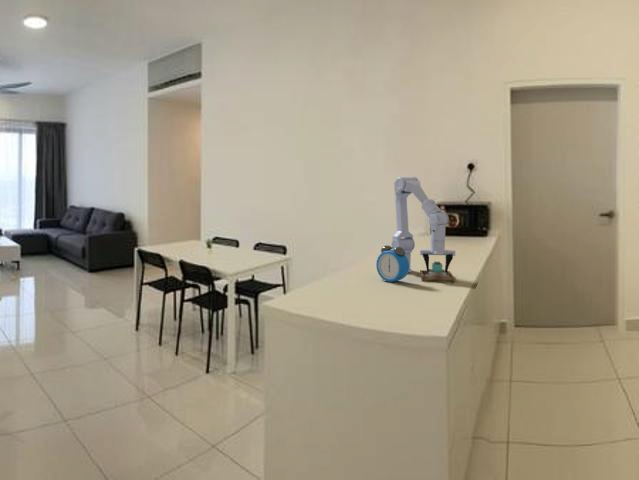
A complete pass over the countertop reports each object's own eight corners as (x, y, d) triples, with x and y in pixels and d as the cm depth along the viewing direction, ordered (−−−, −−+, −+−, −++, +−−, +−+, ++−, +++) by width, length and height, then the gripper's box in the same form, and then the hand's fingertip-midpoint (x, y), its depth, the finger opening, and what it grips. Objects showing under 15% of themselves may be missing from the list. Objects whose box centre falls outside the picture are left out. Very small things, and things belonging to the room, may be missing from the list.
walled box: (422, 281, 192) (422, 272, 191) (419, 275, 204) (420, 266, 204) (453, 282, 190) (454, 273, 189) (449, 276, 203) (449, 267, 202)
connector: (432, 278, 194) (432, 262, 193) (431, 276, 198) (431, 261, 197) (441, 278, 193) (442, 262, 192) (440, 276, 197) (441, 261, 196)
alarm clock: (375, 279, 195) (376, 245, 193) (384, 277, 199) (385, 243, 197) (400, 284, 185) (401, 248, 183) (409, 282, 190) (410, 247, 188)
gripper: (421, 241, 190) (420, 273, 192) (456, 242, 188) (455, 274, 190) (420, 239, 197) (419, 269, 199) (454, 239, 195) (453, 270, 197)
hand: (436, 271), depth 195 cm, fingers open, 7 cm apart
